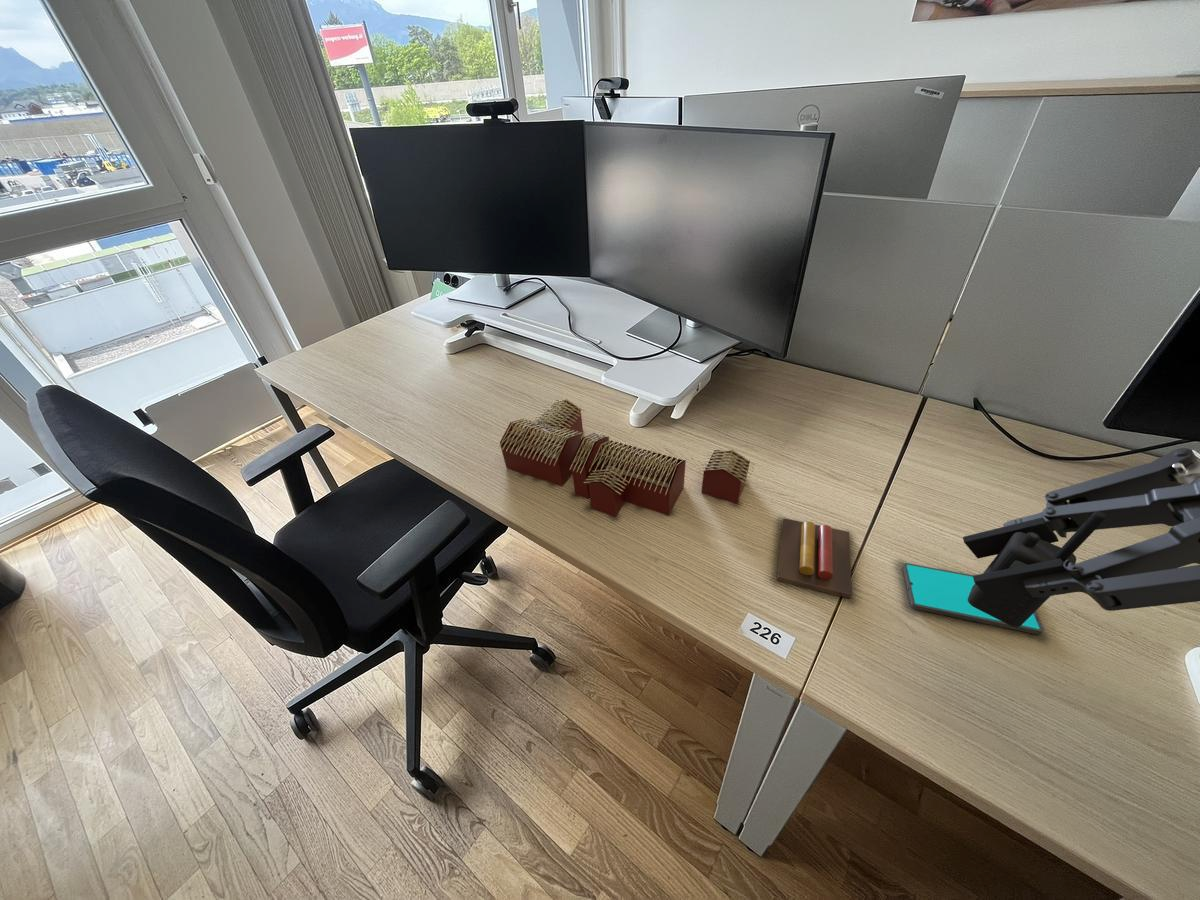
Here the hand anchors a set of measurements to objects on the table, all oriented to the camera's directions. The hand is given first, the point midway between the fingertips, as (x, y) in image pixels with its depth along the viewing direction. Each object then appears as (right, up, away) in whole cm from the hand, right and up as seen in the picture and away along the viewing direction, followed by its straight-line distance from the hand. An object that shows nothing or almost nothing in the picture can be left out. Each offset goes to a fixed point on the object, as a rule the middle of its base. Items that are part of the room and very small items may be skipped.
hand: (975, 566), depth 46 cm
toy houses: (-33, +7, +43) cm, 54 cm away
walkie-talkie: (+4, -5, +2) cm, 7 cm away
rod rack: (-4, -5, +26) cm, 27 cm away
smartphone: (+14, -9, +19) cm, 26 cm away
